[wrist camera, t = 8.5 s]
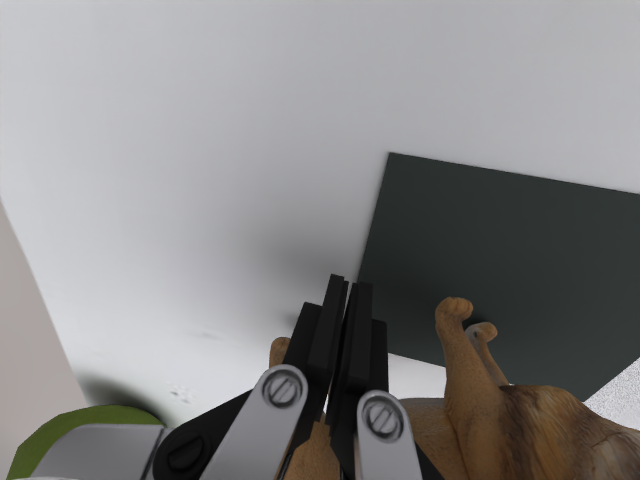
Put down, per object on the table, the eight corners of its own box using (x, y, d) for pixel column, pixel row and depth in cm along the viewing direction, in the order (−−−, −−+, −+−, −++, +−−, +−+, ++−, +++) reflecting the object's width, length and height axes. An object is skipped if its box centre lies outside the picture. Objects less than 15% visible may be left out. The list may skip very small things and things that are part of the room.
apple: (-62, 559, 13) (59, 370, 21) (-75, 613, 17) (33, 434, 25) (168, 535, 18) (195, 389, 26) (120, 582, 22) (157, 441, 30)
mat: (389, 152, 9) (390, 153, 9) (802, 221, 8) (807, 223, 8) (342, 339, 14) (342, 341, 14) (582, 400, 13) (583, 402, 13)
